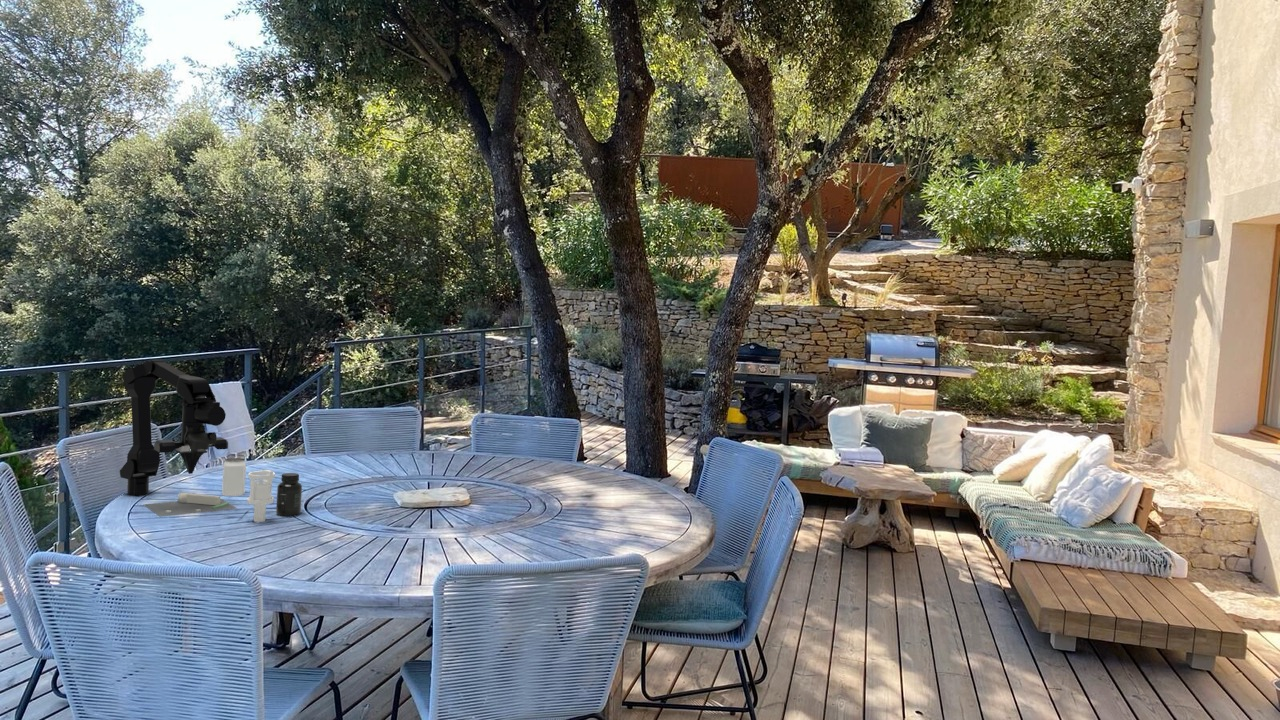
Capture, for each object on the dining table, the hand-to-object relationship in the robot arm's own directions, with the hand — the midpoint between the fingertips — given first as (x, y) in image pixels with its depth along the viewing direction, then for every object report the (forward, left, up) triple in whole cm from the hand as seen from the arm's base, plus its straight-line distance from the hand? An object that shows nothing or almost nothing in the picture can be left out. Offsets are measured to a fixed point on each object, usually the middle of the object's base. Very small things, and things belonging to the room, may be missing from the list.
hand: (190, 473), depth 252 cm
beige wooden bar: (-2, +3, -9) cm, 10 cm away
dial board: (+1, 0, -11) cm, 11 cm away
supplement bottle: (+18, +22, -11) cm, 30 cm away
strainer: (+22, +12, -11) cm, 27 cm away
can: (-10, +16, -11) cm, 22 cm away
